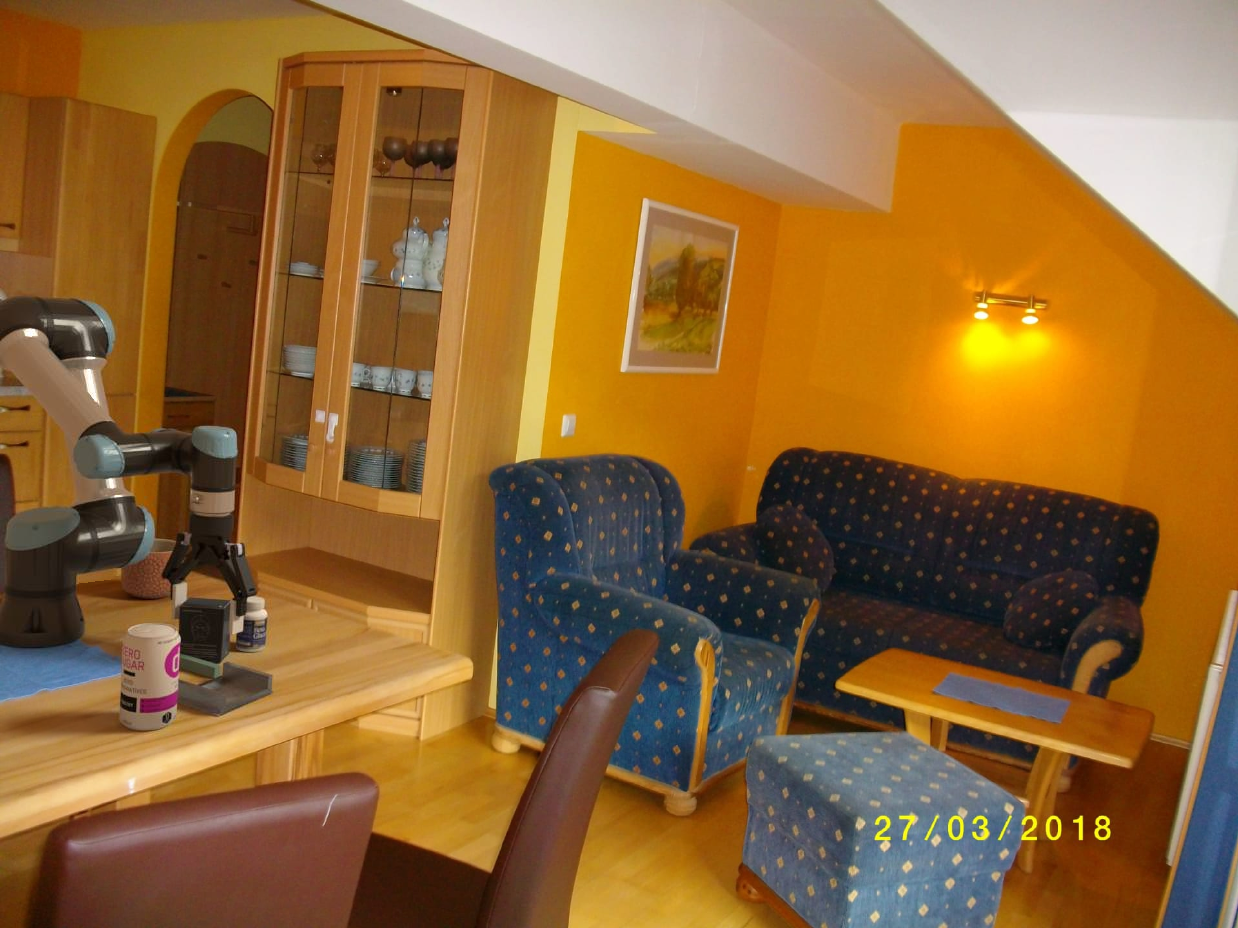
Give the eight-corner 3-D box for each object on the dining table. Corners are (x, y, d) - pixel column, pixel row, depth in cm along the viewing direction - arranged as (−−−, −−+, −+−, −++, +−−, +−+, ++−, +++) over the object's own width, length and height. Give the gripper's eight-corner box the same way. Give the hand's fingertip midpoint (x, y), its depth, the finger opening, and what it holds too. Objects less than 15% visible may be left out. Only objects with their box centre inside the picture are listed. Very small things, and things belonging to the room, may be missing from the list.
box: (229, 653, 196) (232, 599, 195) (220, 663, 191) (224, 608, 189) (186, 650, 195) (189, 595, 194) (176, 660, 190) (179, 604, 188)
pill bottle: (255, 654, 197) (258, 605, 196) (229, 649, 198) (232, 600, 197) (270, 646, 202) (273, 598, 201) (245, 641, 203) (248, 593, 202)
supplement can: (184, 713, 168) (189, 624, 166) (163, 734, 160) (168, 641, 158) (133, 708, 168) (137, 619, 165) (109, 729, 159) (114, 635, 157)
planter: (186, 601, 223) (189, 551, 222) (122, 604, 217) (125, 553, 215) (176, 585, 234) (179, 537, 232) (115, 587, 227) (117, 538, 225)
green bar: (154, 660, 189) (154, 649, 188) (160, 658, 190) (161, 647, 190) (214, 678, 184) (214, 667, 183) (220, 676, 185) (221, 665, 185)
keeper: (171, 701, 172) (172, 681, 171) (228, 679, 184) (229, 660, 183) (218, 716, 168) (219, 696, 168) (273, 692, 180) (274, 673, 180)
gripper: (143, 504, 190) (139, 616, 193) (251, 526, 181) (245, 643, 184) (175, 499, 197) (171, 607, 200) (281, 520, 188) (275, 633, 191)
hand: (206, 625), depth 192 cm, fingers open, 13 cm apart
